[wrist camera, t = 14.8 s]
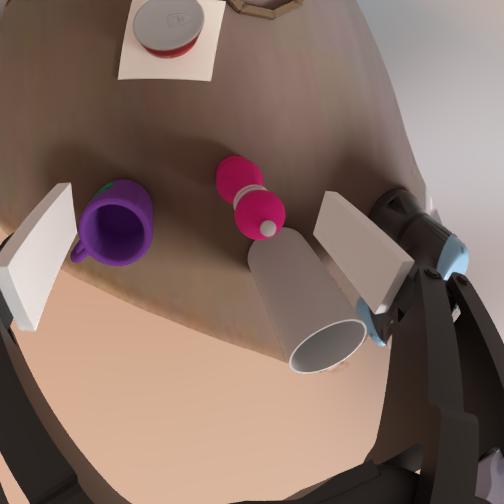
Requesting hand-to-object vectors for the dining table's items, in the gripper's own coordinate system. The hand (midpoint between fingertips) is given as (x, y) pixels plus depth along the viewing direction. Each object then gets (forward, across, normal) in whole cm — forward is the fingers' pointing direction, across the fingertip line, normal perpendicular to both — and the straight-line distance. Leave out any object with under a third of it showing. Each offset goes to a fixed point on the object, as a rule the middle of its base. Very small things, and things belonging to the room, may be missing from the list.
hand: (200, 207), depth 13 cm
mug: (+32, +12, +16) cm, 38 cm away
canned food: (+31, +4, -14) cm, 34 cm away
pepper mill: (+32, -9, +8) cm, 34 cm away
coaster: (+32, +4, -14) cm, 35 cm away
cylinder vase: (+32, -20, +24) cm, 45 cm away
